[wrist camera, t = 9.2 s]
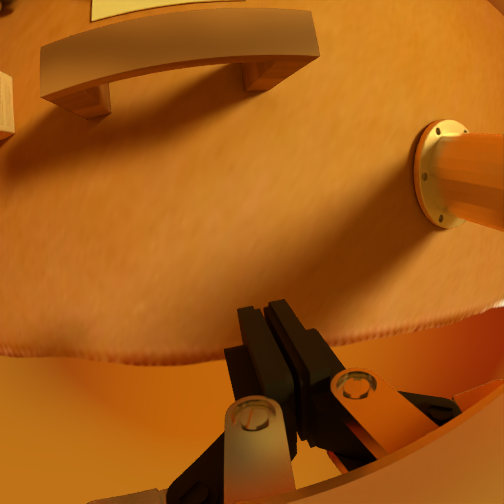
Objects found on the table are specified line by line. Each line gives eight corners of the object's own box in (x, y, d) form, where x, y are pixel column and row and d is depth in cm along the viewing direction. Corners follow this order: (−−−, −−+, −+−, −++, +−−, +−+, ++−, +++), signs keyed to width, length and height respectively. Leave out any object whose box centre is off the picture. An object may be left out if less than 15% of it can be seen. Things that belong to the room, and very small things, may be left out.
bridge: (84, 84, 18) (40, 47, 10) (264, 57, 21) (311, 11, 12) (87, 119, 19) (40, 97, 11) (269, 90, 22) (320, 56, 13)
